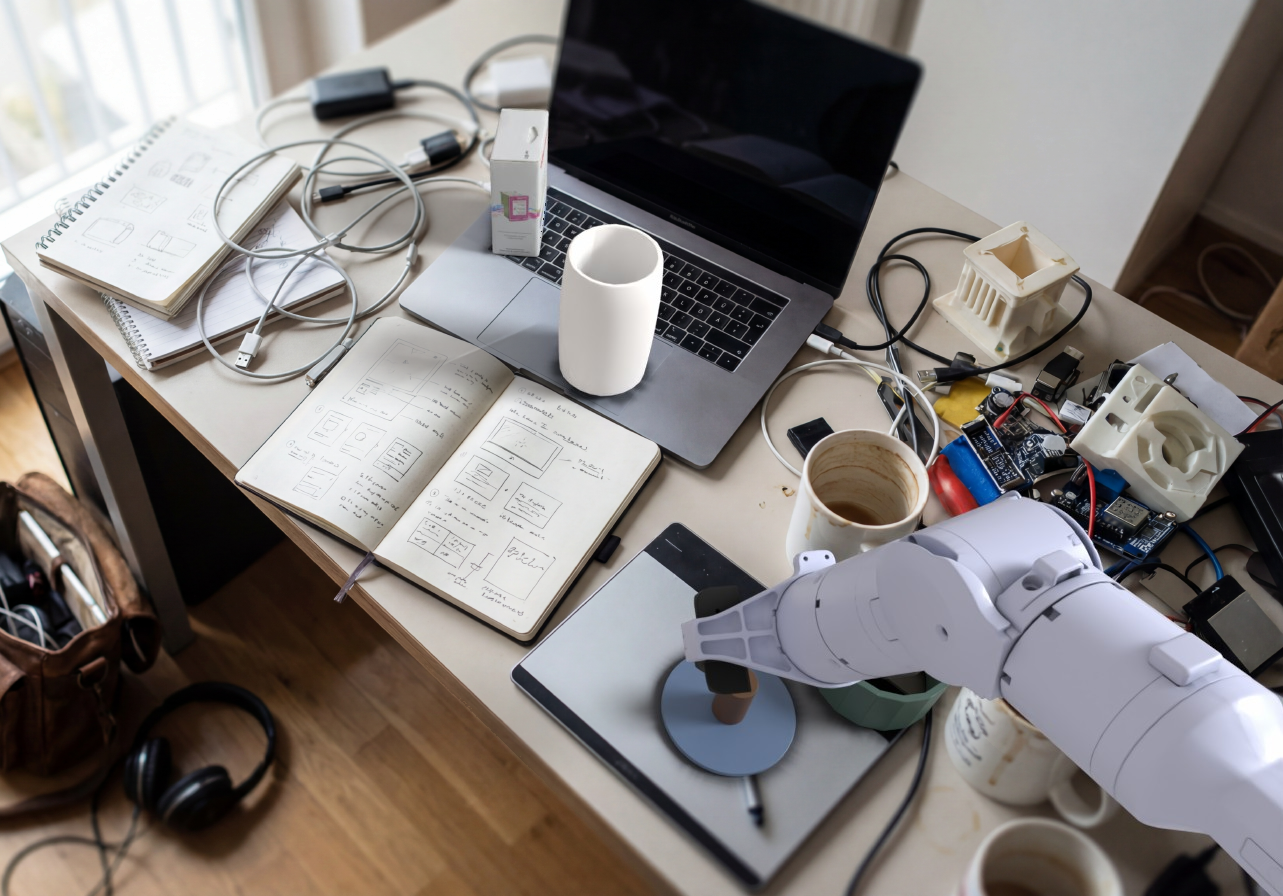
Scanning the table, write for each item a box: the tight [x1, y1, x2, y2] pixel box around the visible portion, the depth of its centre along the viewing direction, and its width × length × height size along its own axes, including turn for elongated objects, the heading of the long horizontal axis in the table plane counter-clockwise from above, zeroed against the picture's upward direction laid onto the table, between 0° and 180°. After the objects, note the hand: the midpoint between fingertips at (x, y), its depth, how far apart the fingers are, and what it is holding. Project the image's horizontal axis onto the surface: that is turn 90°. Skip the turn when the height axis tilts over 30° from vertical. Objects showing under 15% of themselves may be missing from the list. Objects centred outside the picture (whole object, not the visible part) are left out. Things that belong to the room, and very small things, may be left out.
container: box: [817, 671, 950, 732], centre depth 72 cm, size 9×9×5 cm
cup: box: [558, 223, 664, 397], centre depth 88 cm, size 8×8×14 cm
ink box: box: [489, 108, 550, 258], centre depth 101 cm, size 9×5×12 cm, turn 172°
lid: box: [660, 658, 797, 778], centre depth 71 cm, size 9×9×6 cm
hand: (759, 645), depth 61 cm, fingers open, 7 cm apart
